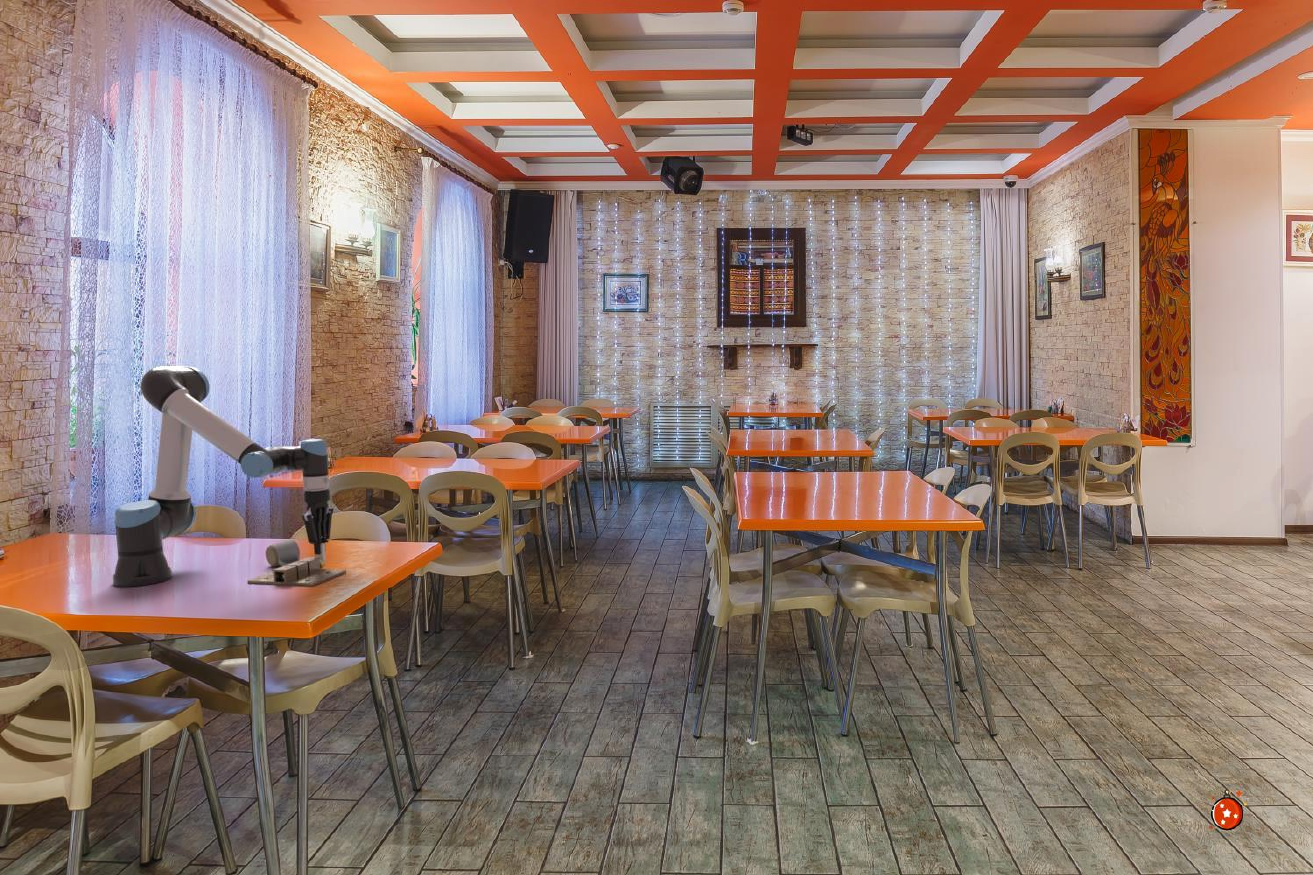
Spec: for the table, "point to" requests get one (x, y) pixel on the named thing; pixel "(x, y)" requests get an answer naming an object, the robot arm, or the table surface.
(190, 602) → the table surface
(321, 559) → the pin
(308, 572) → the hinge
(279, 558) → the ceramic mug
